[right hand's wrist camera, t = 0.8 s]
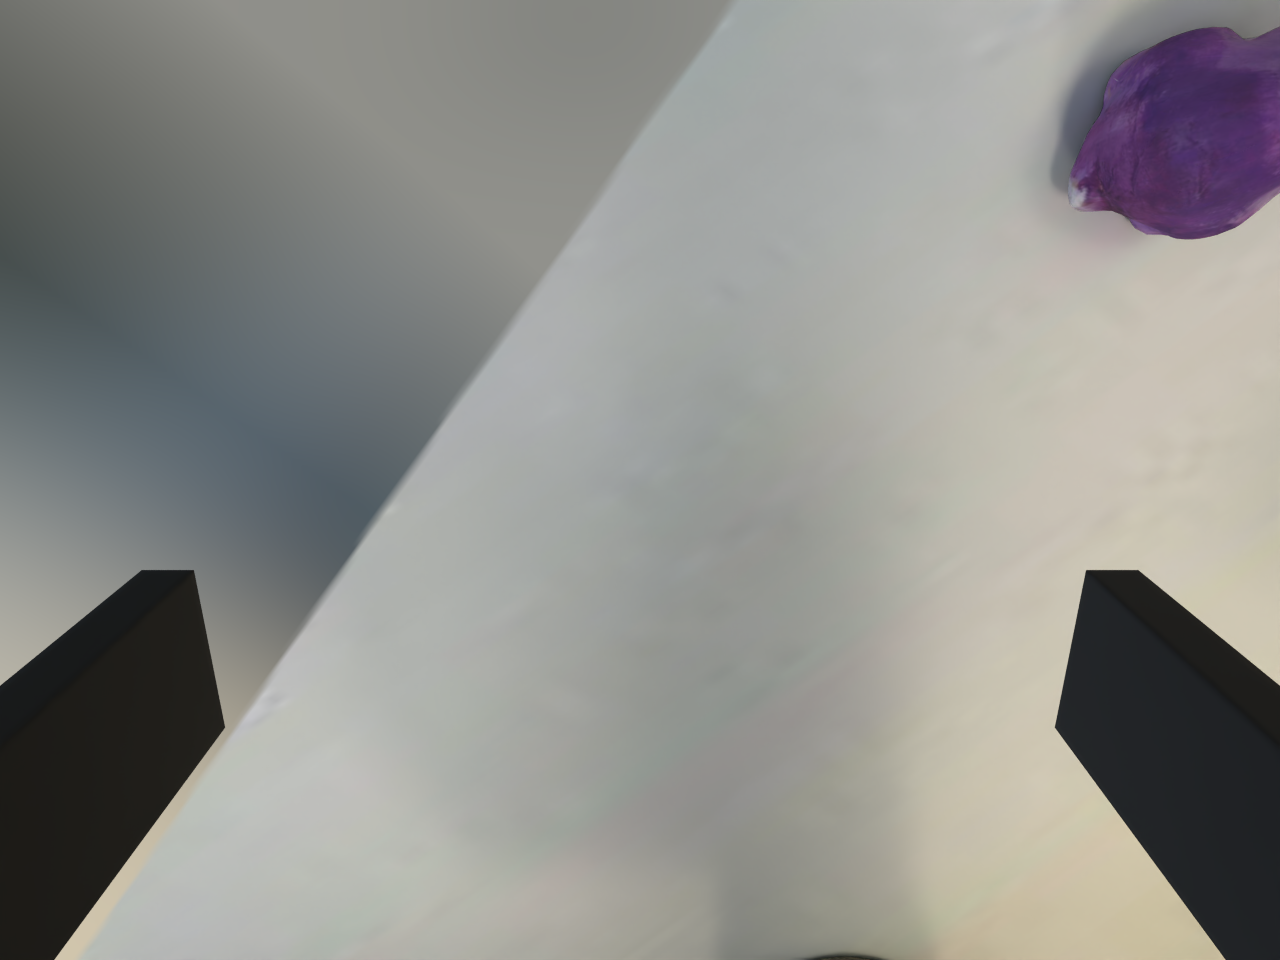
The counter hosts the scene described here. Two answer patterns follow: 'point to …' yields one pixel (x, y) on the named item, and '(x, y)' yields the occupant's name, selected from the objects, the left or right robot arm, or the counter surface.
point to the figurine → (1186, 135)
